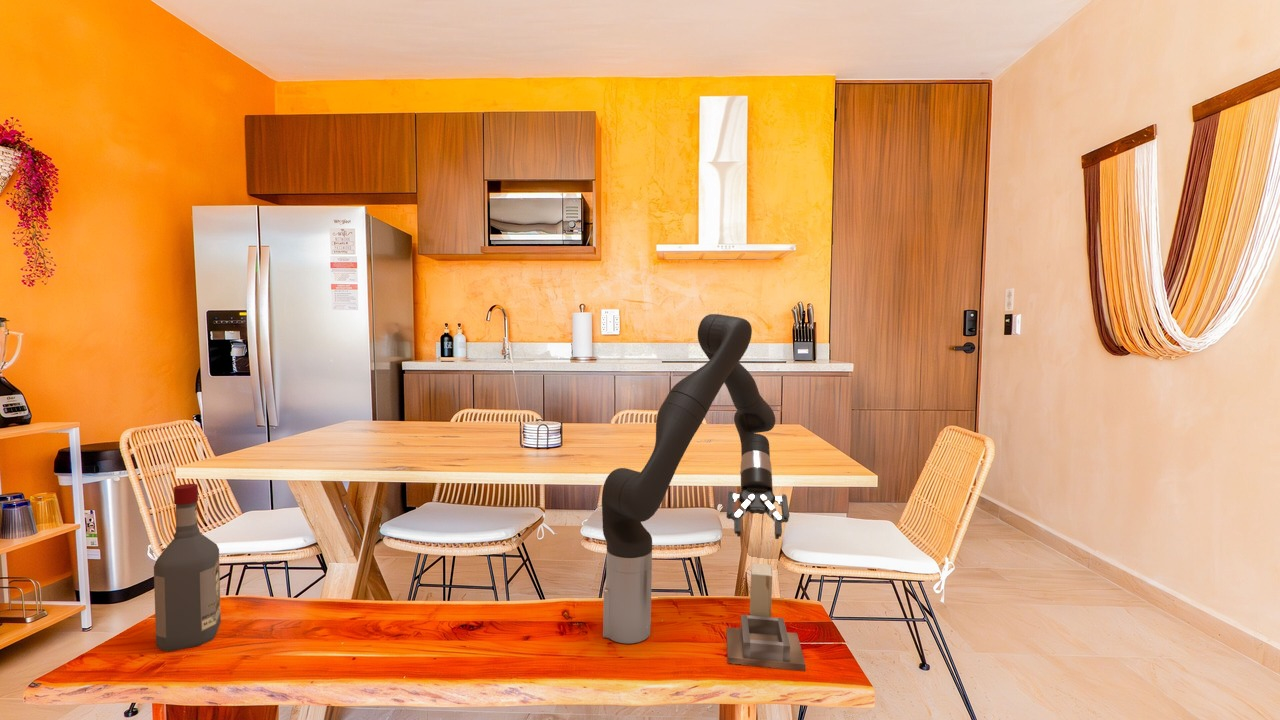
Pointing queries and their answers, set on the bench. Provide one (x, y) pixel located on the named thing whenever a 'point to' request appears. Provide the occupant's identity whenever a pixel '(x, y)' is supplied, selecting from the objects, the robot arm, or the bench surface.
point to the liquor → (187, 581)
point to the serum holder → (764, 644)
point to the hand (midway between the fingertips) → (758, 536)
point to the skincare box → (761, 590)
